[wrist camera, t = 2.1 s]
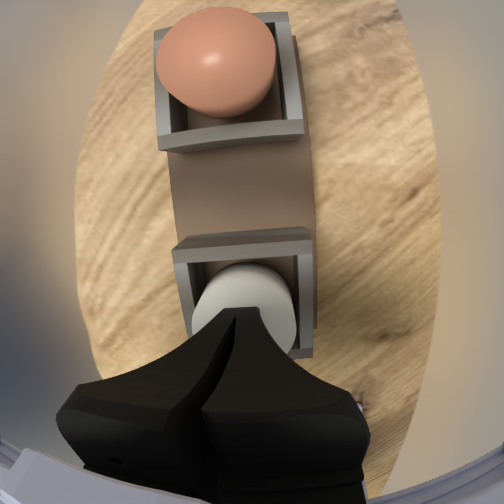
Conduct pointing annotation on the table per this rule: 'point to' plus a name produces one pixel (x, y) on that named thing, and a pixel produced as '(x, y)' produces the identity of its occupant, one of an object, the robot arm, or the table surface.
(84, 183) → the table surface
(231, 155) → the panel
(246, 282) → the white plunger
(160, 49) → the tan rounded dome
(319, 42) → the table surface
